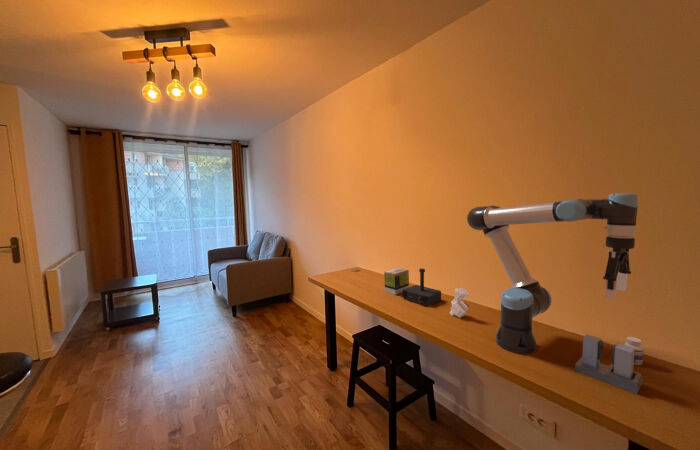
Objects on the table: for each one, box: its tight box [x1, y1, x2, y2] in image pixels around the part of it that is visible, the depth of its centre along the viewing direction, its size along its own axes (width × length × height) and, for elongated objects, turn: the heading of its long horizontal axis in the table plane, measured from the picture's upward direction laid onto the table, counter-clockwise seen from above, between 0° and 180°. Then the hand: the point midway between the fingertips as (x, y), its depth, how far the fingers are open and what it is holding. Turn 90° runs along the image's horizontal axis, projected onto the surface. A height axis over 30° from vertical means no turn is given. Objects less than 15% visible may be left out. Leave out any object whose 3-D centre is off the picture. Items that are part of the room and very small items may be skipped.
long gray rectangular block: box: [610, 343, 635, 379], centre depth 94 cm, size 5×4×10 cm
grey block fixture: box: [574, 334, 643, 395], centre depth 97 cm, size 16×8×12 cm, turn 36°
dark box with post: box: [402, 268, 442, 307], centre depth 176 cm, size 19×17×20 cm
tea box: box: [383, 267, 410, 296], centre depth 195 cm, size 15×10×15 cm, turn 130°
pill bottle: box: [623, 336, 644, 366], centre depth 106 cm, size 5×5×9 cm
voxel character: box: [448, 287, 470, 319], centre depth 151 cm, size 7×12×15 cm
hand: (616, 294), depth 102 cm, fingers open, 13 cm apart
